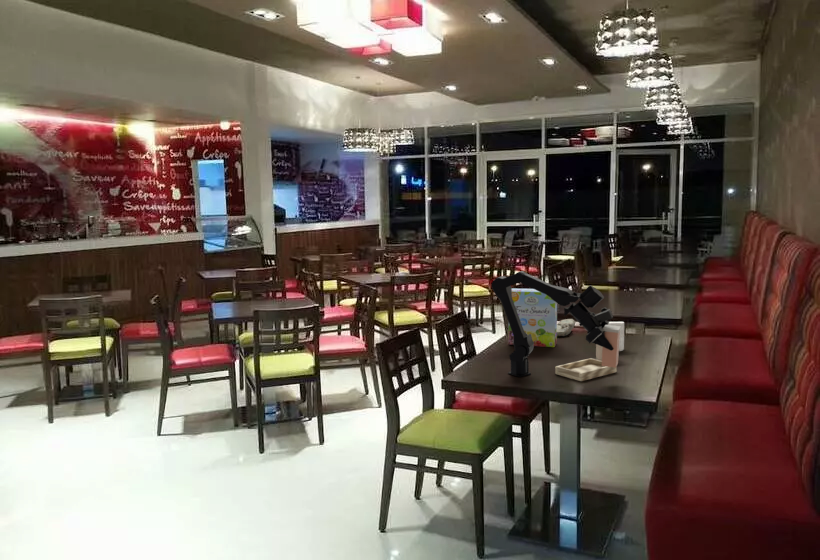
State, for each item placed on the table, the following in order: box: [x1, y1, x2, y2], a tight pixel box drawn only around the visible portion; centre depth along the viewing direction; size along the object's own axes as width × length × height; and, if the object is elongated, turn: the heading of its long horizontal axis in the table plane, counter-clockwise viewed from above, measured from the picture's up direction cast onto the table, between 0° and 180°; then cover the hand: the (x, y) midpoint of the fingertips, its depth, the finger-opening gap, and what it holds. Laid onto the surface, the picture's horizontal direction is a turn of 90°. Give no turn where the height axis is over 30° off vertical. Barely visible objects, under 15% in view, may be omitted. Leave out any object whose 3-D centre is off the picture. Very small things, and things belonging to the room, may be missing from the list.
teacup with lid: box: [595, 344, 603, 361], centre depth 282 cm, size 12×9×12 cm
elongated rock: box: [557, 318, 576, 337], centre depth 339 cm, size 35×5×10 cm
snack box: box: [507, 287, 558, 348], centre depth 309 cm, size 22×9×26 cm, turn 72°
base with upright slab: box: [608, 321, 625, 352], centre depth 297 cm, size 9×9×12 cm
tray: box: [554, 357, 618, 382], centre depth 261 cm, size 20×13×3 cm, turn 124°
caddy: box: [602, 325, 621, 368], centre depth 246 cm, size 6×7×14 cm
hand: (614, 347), depth 245 cm, fingers closed on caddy, 6 cm apart
